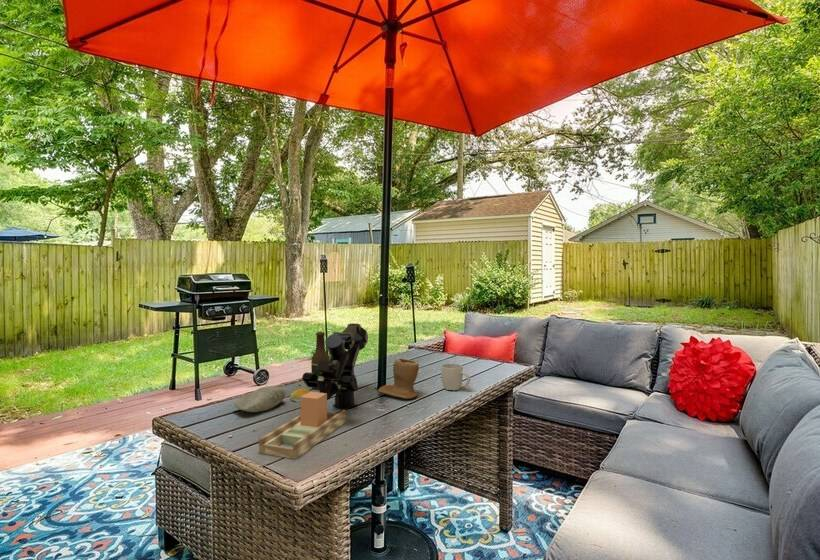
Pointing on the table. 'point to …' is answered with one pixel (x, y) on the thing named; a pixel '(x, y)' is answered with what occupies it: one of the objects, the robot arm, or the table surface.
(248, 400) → the rock
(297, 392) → the bread roll
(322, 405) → the terracotta block
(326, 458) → the table surface
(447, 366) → the mug
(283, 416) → the table surface
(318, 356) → the beer bottle
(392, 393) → the brown boot
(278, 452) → the wooden compartment tray
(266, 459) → the table surface
